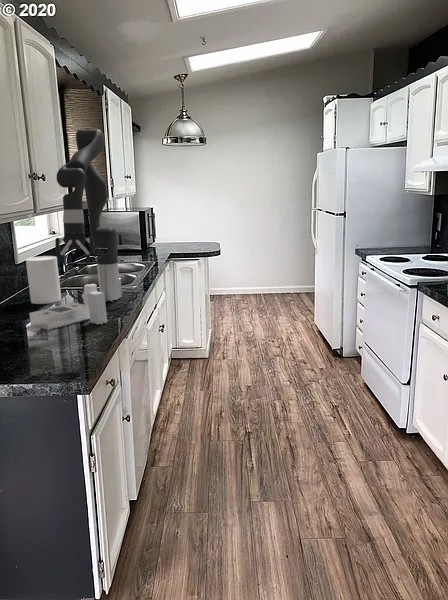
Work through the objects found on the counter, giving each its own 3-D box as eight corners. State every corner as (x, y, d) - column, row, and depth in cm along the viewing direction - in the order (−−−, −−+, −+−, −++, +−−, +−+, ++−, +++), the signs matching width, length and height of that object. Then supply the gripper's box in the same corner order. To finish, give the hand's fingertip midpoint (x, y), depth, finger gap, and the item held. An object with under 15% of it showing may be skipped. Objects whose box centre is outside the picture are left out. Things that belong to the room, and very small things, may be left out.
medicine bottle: (82, 310, 219) (80, 283, 216) (99, 308, 221) (97, 281, 219) (84, 314, 212) (81, 286, 210) (102, 312, 215) (99, 284, 212)
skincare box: (108, 322, 199) (105, 292, 196) (98, 325, 195) (95, 294, 193) (99, 320, 203) (96, 290, 200) (89, 322, 199) (86, 292, 197)
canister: (24, 303, 235) (19, 260, 230) (41, 296, 248) (36, 255, 243) (51, 304, 232) (46, 260, 227) (66, 297, 244) (62, 256, 240)
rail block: (74, 313, 213) (73, 302, 212) (92, 318, 206) (90, 305, 205) (30, 325, 198) (29, 312, 197) (48, 330, 191) (46, 317, 190)
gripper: (94, 222, 198) (95, 264, 200) (56, 222, 196) (58, 264, 198) (91, 221, 191) (93, 265, 193) (52, 222, 189) (54, 265, 191)
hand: (75, 264), depth 195 cm, fingers open, 8 cm apart
